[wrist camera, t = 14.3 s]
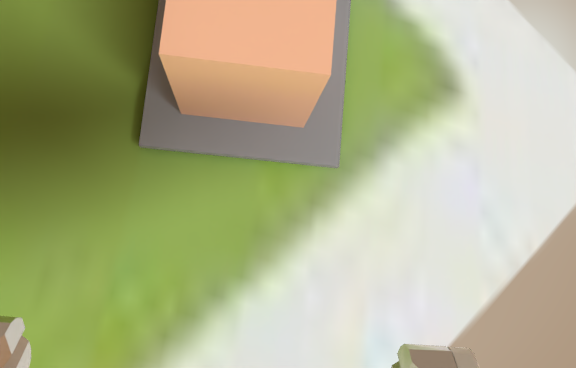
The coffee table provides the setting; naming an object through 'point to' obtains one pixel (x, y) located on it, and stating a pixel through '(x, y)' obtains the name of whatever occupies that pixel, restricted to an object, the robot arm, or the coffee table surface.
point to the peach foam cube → (248, 57)
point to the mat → (242, 134)
